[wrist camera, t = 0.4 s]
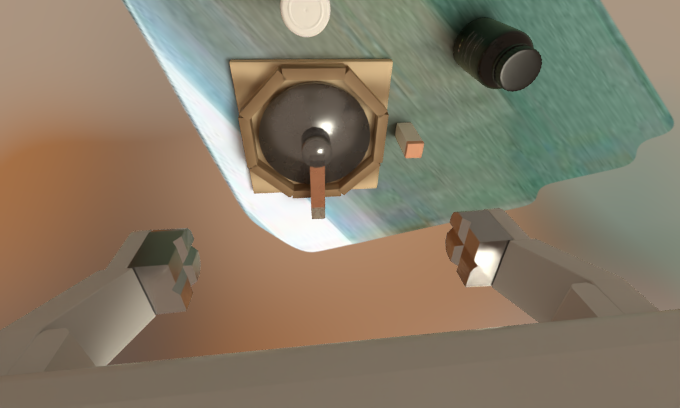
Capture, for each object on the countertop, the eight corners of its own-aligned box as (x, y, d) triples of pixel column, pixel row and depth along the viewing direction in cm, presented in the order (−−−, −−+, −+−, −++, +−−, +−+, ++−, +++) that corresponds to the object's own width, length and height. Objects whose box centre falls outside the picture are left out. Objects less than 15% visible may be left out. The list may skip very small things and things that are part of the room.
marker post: (396, 122, 52) (408, 143, 47) (411, 122, 52) (424, 143, 47) (394, 136, 53) (405, 158, 48) (408, 135, 54) (421, 157, 48)
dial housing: (230, 59, 43) (226, 67, 40) (390, 59, 45) (396, 66, 43) (254, 189, 57) (252, 201, 55) (375, 184, 59) (379, 195, 57)
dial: (251, 82, 44) (247, 97, 40) (373, 80, 45) (381, 95, 41) (269, 200, 57) (267, 221, 53) (362, 196, 59) (368, 216, 55)
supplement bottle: (508, 18, 43) (565, 41, 34) (488, 70, 48) (533, 102, 39) (461, 13, 42) (507, 35, 33) (445, 66, 47) (481, 99, 38)
